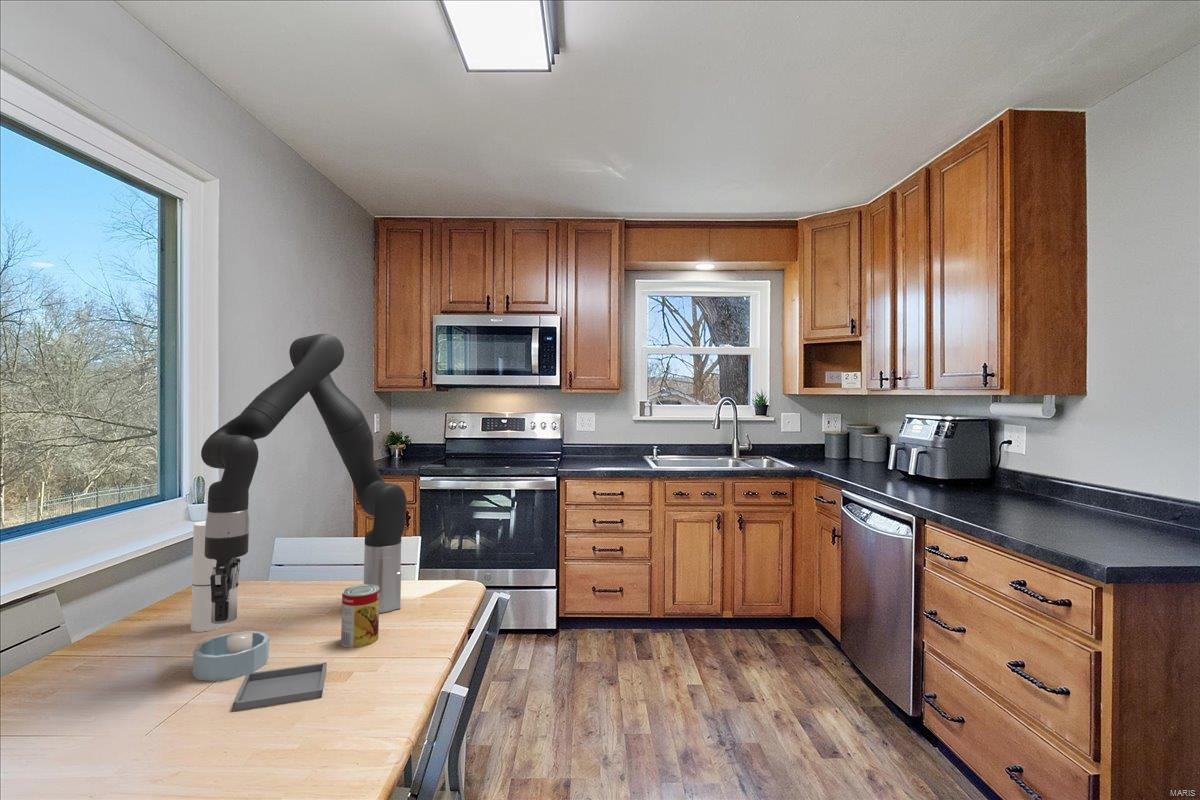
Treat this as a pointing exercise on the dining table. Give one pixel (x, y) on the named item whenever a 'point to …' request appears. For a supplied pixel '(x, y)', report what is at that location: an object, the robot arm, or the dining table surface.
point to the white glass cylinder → (239, 642)
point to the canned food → (360, 615)
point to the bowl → (229, 658)
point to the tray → (281, 686)
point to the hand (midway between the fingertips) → (224, 615)
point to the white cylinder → (232, 607)
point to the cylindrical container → (201, 583)
